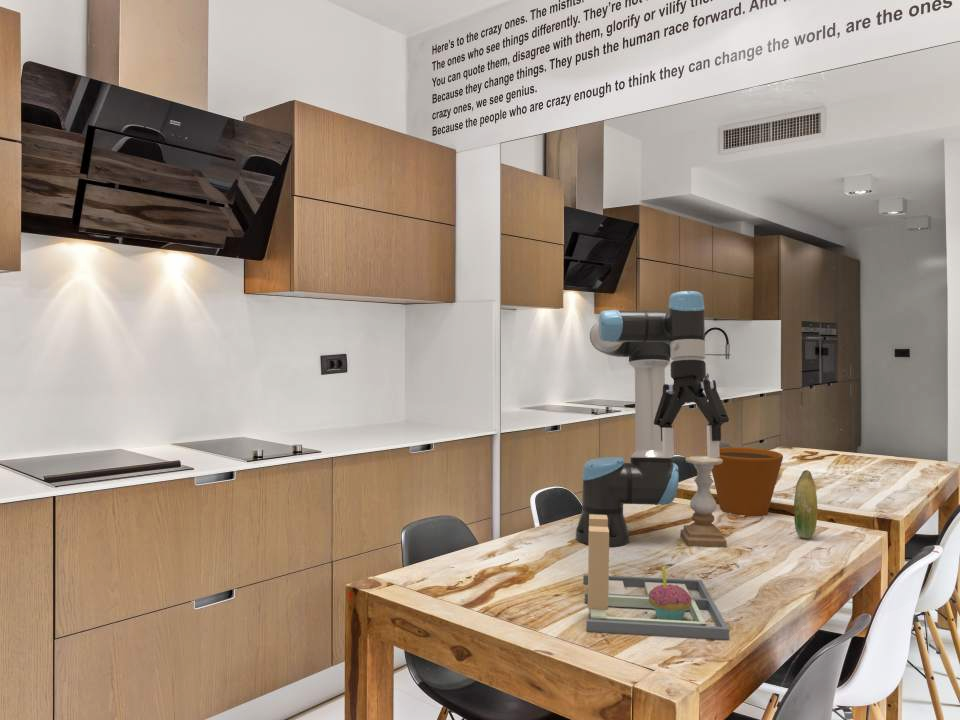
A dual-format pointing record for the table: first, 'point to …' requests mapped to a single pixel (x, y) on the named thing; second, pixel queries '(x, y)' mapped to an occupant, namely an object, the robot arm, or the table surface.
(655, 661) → the table surface
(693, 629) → the board
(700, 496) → the candle holder
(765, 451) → the flower pot
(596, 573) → the pale green frame
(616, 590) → the broken strip
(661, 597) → the cupcake
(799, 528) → the vegetable
